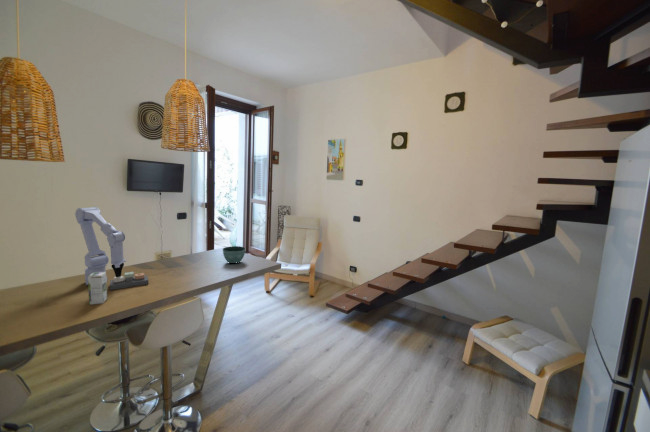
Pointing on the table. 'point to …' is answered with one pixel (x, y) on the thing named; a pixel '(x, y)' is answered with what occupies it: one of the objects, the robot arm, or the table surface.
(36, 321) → the table surface
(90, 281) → the syrup box
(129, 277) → the sage key
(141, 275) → the terracotta key
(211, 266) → the table surface
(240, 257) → the flower pot
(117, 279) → the ivory key
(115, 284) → the keypad plate
